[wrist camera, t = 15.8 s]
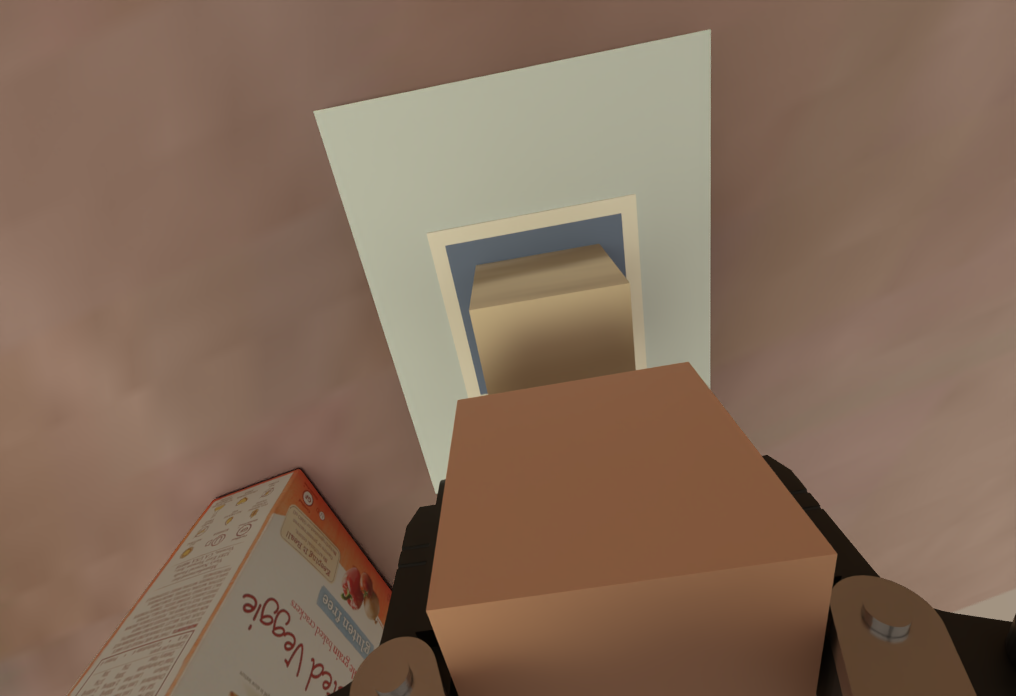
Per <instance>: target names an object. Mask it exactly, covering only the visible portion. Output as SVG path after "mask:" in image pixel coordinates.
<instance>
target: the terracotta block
mask: <svg viewBox="0 0 1016 696" xmlns="http://www.w3.org/2000/svg"><path fill="white" fill-rule="evenodd" d="M836 560H837V553H836V551H835V550H834V549H833V547H832V546H831V545H830V544H829V542H828V541H827V540H826V538H825V537H824V536H823V535H822V533H821V532H820V531H819V529H818V528H817V527H816V526H815V524H814V523H813V522H812V520H811V519H810V518H809V516H808V515H807V514H806V513H805V511H804V510H803V509H802V507H801V506H800V505H799V504H798V502H797V501H796V500H795V498H794V497H793V496H792V495H791V493H790V492H789V491H788V489H787V488H786V487H785V485H784V484H783V483H782V482H781V480H780V479H779V478H778V476H777V475H776V474H775V473H774V471H773V470H772V469H771V467H770V466H769V465H768V464H767V462H766V461H765V460H764V458H763V457H762V456H761V455H760V453H759V452H758V451H757V449H756V448H755V447H754V445H753V444H752V443H751V442H750V440H749V439H748V438H747V436H746V435H745V434H744V433H743V431H742V430H741V429H740V427H739V426H738V425H737V424H736V422H735V421H734V420H733V418H732V417H731V416H730V414H729V413H728V412H727V411H726V409H725V408H724V407H723V405H722V404H721V403H720V402H719V400H718V399H717V398H716V396H715V395H714V394H713V393H712V391H711V390H710V389H709V387H708V386H707V385H706V383H705V382H704V381H703V380H702V378H701V377H700V376H699V374H698V373H697V372H696V371H695V369H694V368H693V367H692V365H691V364H690V363H689V362H683V363H677V364H671V365H665V366H659V367H653V368H647V369H641V370H635V371H629V372H623V373H617V374H611V375H605V376H599V377H593V378H587V379H581V380H575V381H569V382H563V383H557V384H551V385H545V386H539V387H533V388H527V389H521V390H515V391H509V392H503V393H497V394H491V395H485V396H479V397H473V398H467V399H461V400H457V407H456V414H455V420H454V427H453V434H452V440H451V447H450V454H449V461H448V467H447V474H446V481H445V487H444V494H443V501H442V507H441V514H440V521H439V527H438V534H437V541H436V548H435V554H434V561H433V568H432V574H431V581H430V588H429V594H428V601H427V608H426V612H427V615H428V617H429V620H430V622H431V625H432V628H433V630H434V633H435V635H436V638H437V641H438V643H439V646H440V649H441V651H442V654H443V656H444V659H445V662H446V664H447V667H448V669H449V672H450V675H451V677H452V680H453V682H454V685H455V688H456V690H457V693H458V695H459V696H816V690H817V683H818V677H819V670H820V664H821V657H822V651H823V644H824V638H825V631H826V625H827V618H828V612H829V605H830V599H831V592H832V586H833V579H834V573H835V566H836Z"/></svg>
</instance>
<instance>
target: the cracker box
mask: <svg viewBox="0 0 1016 696" xmlns="http://www.w3.org/2000/svg"><path fill="white" fill-rule="evenodd" d="M391 594H392V591H391V590H390V589H389V587H388V586H387V584H386V583H385V582H384V580H383V579H382V578H381V576H380V575H379V574H378V572H377V571H376V570H375V568H374V567H373V566H372V564H371V563H370V562H369V560H368V559H367V557H366V556H365V555H364V554H363V552H362V551H361V550H360V548H359V547H358V545H357V544H356V543H355V541H354V540H353V539H352V538H351V536H350V535H349V534H348V532H347V531H346V530H345V528H344V527H343V525H342V524H341V523H340V521H339V520H338V519H337V517H336V516H335V515H334V513H333V512H332V511H331V509H330V508H329V507H328V505H327V504H326V503H325V502H324V500H323V499H322V497H321V496H320V495H319V493H318V492H317V491H316V489H315V488H314V487H313V485H312V484H311V482H310V481H309V480H308V479H307V477H306V476H305V475H304V473H303V472H302V471H301V470H300V469H297V470H294V471H291V472H289V473H286V474H283V475H280V476H277V477H275V478H272V479H269V480H267V481H264V482H261V483H258V484H255V485H253V486H250V487H248V488H245V489H242V490H240V491H237V492H234V493H231V494H228V495H226V496H223V497H220V498H218V499H215V500H213V501H212V502H211V503H210V505H209V506H208V507H207V508H206V510H205V511H204V512H203V514H202V515H201V516H200V517H199V519H198V520H197V521H196V523H195V524H194V525H193V527H192V528H191V529H190V531H189V532H188V533H187V535H186V536H185V538H184V539H183V540H182V542H181V543H180V544H179V545H178V547H177V548H176V549H175V551H174V552H173V553H172V555H171V556H170V557H169V559H168V560H167V561H166V563H165V564H164V565H163V567H162V568H161V569H160V571H159V572H158V573H157V575H156V576H155V577H154V579H153V580H152V581H151V583H150V584H149V585H148V587H147V588H146V589H145V591H144V592H143V593H142V595H141V596H140V597H139V599H138V600H137V601H136V603H135V604H134V605H133V607H132V608H131V609H130V611H129V612H128V613H127V615H126V616H125V617H124V619H123V620H122V621H121V623H120V624H119V626H118V627H117V628H116V630H115V631H114V632H113V634H112V635H111V636H110V638H109V639H108V640H107V641H106V643H105V644H104V645H103V647H102V648H101V649H100V651H99V652H98V653H97V655H96V656H95V657H94V659H93V660H92V661H91V663H90V664H89V665H88V667H87V668H86V670H85V671H84V672H83V674H82V675H81V676H80V678H79V679H78V680H77V682H76V683H75V684H74V686H73V687H72V688H71V690H70V691H69V692H68V694H67V695H66V696H327V695H329V694H331V693H333V692H335V691H337V690H339V689H341V688H343V687H344V686H346V685H347V684H349V683H350V682H351V681H353V678H354V676H355V674H356V672H357V670H358V668H359V666H360V665H361V663H362V662H363V661H364V660H365V658H366V657H367V656H368V655H369V654H370V653H371V652H372V651H373V650H374V649H376V648H377V647H379V644H380V641H381V638H382V633H383V629H384V625H385V620H386V616H387V611H388V607H389V603H390V598H391Z"/></svg>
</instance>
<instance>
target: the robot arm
mask: <svg viewBox="0 0 1016 696" xmlns="http://www.w3.org/2000/svg"><path fill="white" fill-rule="evenodd" d="M762 457H763V458H764V460H765V461H766V462H767V464H768V465H769V466H770V467H771V469H772V470H773V471H774V473H775V474H776V475H777V476H778V478H779V479H780V480H781V482H782V483H783V484H784V485H785V487H786V488H787V489H788V491H789V492H790V493H791V495H792V496H793V497H794V498H795V500H796V501H797V502H798V504H799V505H800V506H801V507H802V509H803V510H804V511H805V513H806V514H807V515H808V516H809V518H810V519H811V520H812V522H813V523H814V524H815V526H816V527H817V528H818V529H819V531H820V532H821V533H822V535H823V536H824V537H825V538H826V540H827V541H828V542H829V544H830V545H831V546H832V547H833V549H834V550H835V551H836V553H837V560H836V566H835V573H834V579H833V586H832V592H831V599H830V605H829V612H828V618H827V625H826V631H825V638H824V644H823V651H822V657H821V664H820V670H819V677H818V683H817V690H816V696H1016V615H1015V617H1014V620H1013V622H1009V621H1002V620H995V619H988V618H982V617H975V616H968V615H961V614H955V613H950V612H945V611H941V610H937V609H934V608H932V607H931V606H930V605H929V604H928V603H927V602H926V601H925V600H924V599H923V598H921V597H920V596H919V595H917V594H916V593H914V592H913V591H911V590H909V589H908V588H906V587H904V586H902V585H900V584H897V583H895V582H893V581H890V580H887V579H883V578H880V577H879V575H878V574H877V573H876V572H875V571H874V570H873V569H872V567H871V566H870V565H869V564H868V563H867V561H866V560H865V559H864V558H863V557H862V555H861V554H860V553H859V552H858V551H857V549H856V548H855V547H854V546H853V545H852V543H851V542H850V541H849V540H848V538H847V537H846V536H845V535H844V534H843V532H842V531H841V530H840V529H839V528H838V526H837V525H836V524H835V523H834V522H833V520H832V519H831V518H830V517H829V516H828V514H827V513H826V512H825V511H824V509H821V508H820V505H819V503H818V502H817V501H816V500H815V499H814V497H813V496H812V495H811V494H810V493H808V492H807V489H806V488H805V487H804V485H803V484H802V483H801V482H800V480H799V479H798V478H797V477H796V476H795V474H794V473H793V472H792V471H791V470H790V469H789V468H787V467H785V466H784V465H782V464H781V463H779V462H777V461H776V460H774V459H773V458H771V457H769V456H768V455H765V456H762ZM445 481H446V479H444V480H441V481H440V484H439V489H438V495H437V501H436V505H431V506H424V507H420V508H419V509H418V511H417V512H416V514H415V515H414V517H413V518H412V520H411V521H410V522H409V524H408V525H407V528H406V532H405V537H404V541H403V545H402V552H401V554H400V559H399V563H398V569H397V572H396V576H395V581H394V585H393V589H392V594H391V598H390V603H389V607H388V611H387V616H386V620H385V625H384V629H383V633H382V638H381V641H380V644H379V647H377V648H376V649H374V650H373V651H372V652H371V653H370V654H369V655H368V656H367V657H366V658H365V660H364V661H363V662H362V663H361V665H360V666H359V668H358V670H357V672H356V674H355V676H354V678H353V681H351V682H350V683H349V684H347V685H346V686H344V687H343V688H341V689H339V690H337V691H335V692H333V693H331V694H329V695H327V696H459V695H458V693H457V690H456V688H455V685H454V682H453V680H452V677H451V675H450V672H449V669H448V667H447V664H446V662H445V659H444V656H443V654H442V651H441V649H440V646H439V643H438V641H437V638H436V635H435V633H434V630H433V628H432V625H431V622H430V620H429V617H428V615H427V612H426V608H427V601H428V594H429V588H430V581H431V574H432V568H433V561H434V554H435V548H436V541H437V534H438V527H439V521H440V514H441V507H442V501H443V494H444V487H445Z"/></svg>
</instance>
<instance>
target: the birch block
mask: <svg viewBox="0 0 1016 696" xmlns="http://www.w3.org/2000/svg"><path fill="white" fill-rule="evenodd" d="M469 313H470V317H471V322H472V326H473V331H474V335H475V339H476V344H477V348H478V353H479V357H480V362H481V366H482V370H483V375H484V379H485V384H486V388H487V393H488V395H491V394H497V393H503V392H509V391H515V390H521V389H527V388H533V387H539V386H545V385H551V384H557V383H563V382H569V381H575V380H581V379H587V378H593V377H599V376H605V375H611V374H617V373H623V372H629V371H635V370H636V366H635V352H634V337H633V322H632V308H631V293H630V283H629V281H628V280H627V279H626V277H625V276H624V275H623V274H622V272H621V271H620V270H619V268H618V267H617V266H616V265H615V263H614V262H613V261H612V259H611V258H610V257H609V256H608V254H607V253H606V252H605V250H604V249H603V248H602V247H601V245H600V244H594V245H588V246H583V247H577V248H571V249H566V250H560V251H554V252H549V253H543V254H537V255H532V256H526V257H520V258H515V259H509V260H503V261H498V262H492V263H486V264H481V265H476V268H475V274H474V281H473V287H472V294H471V300H470V307H469Z"/></svg>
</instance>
